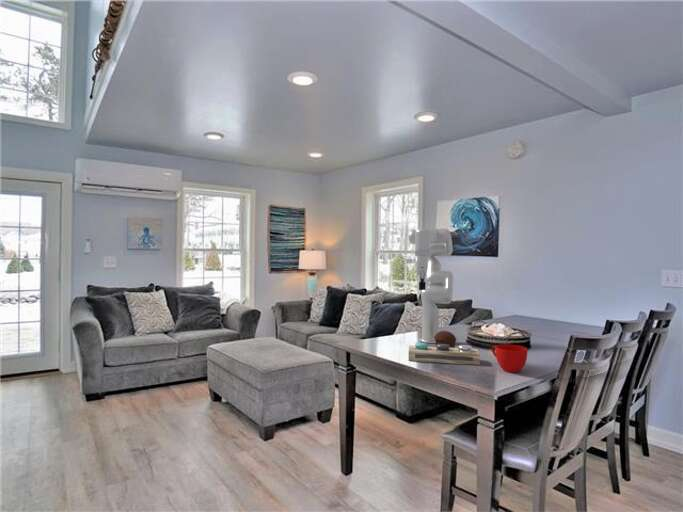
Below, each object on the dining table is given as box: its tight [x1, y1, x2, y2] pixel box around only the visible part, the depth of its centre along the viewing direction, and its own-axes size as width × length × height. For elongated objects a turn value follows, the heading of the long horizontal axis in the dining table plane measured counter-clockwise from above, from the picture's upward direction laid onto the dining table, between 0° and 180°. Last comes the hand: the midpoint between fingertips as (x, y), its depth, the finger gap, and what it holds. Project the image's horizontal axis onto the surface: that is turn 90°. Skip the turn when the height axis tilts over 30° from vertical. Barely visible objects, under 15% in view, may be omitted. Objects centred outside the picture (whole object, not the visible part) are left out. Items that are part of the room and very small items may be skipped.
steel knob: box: [457, 344, 473, 352], centre depth 197 cm, size 6×6×6 cm
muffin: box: [434, 330, 457, 348], centre depth 218 cm, size 12×11×10 cm
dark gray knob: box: [437, 344, 450, 351], centre depth 199 cm, size 6×6×6 cm
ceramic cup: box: [491, 343, 528, 373], centre depth 184 cm, size 13×17×10 cm
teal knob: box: [414, 342, 429, 350], centre depth 201 cm, size 6×6×6 cm
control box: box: [408, 345, 481, 366], centre depth 199 cm, size 10×32×5 cm, turn 79°
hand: (422, 289), depth 212 cm, fingers closed
